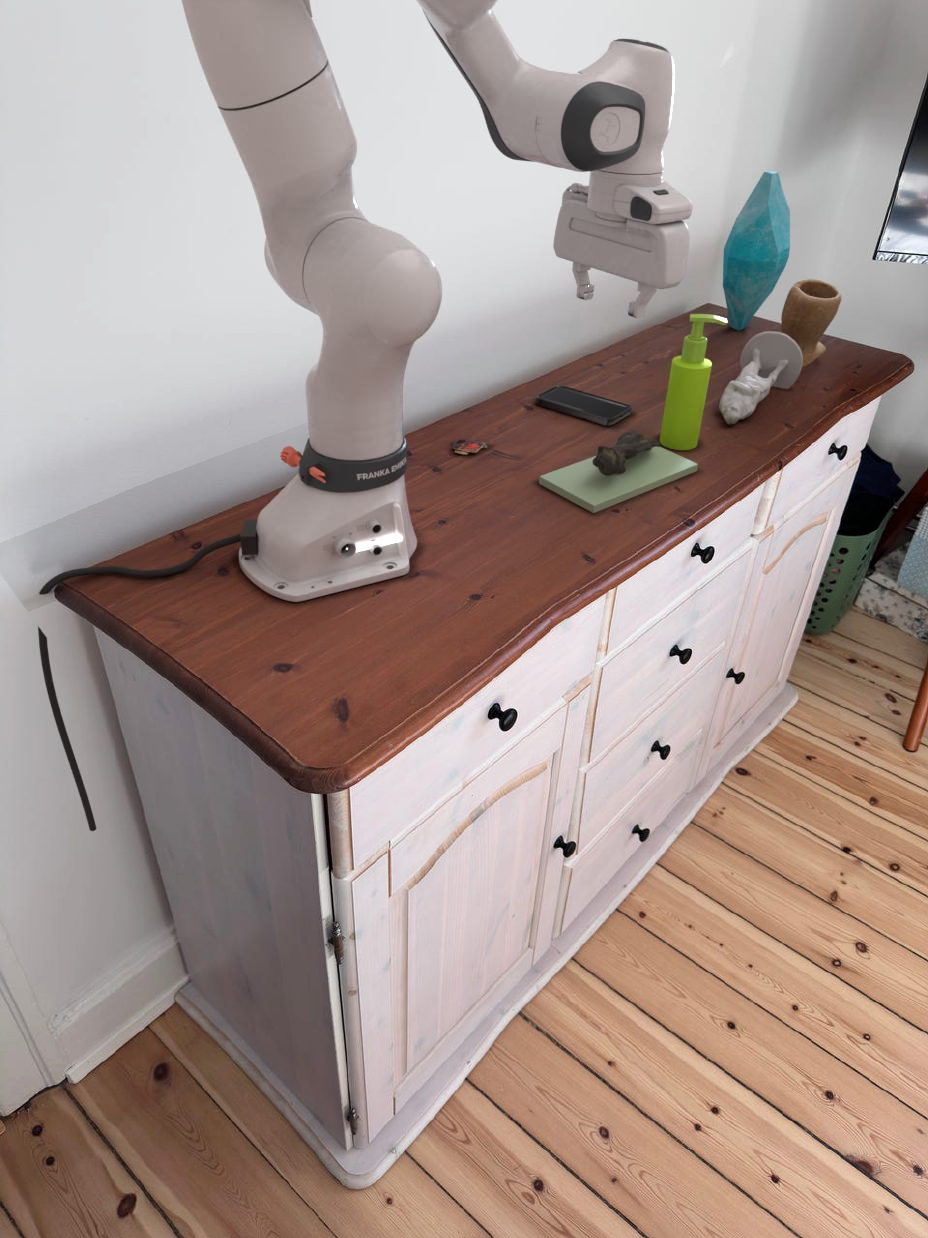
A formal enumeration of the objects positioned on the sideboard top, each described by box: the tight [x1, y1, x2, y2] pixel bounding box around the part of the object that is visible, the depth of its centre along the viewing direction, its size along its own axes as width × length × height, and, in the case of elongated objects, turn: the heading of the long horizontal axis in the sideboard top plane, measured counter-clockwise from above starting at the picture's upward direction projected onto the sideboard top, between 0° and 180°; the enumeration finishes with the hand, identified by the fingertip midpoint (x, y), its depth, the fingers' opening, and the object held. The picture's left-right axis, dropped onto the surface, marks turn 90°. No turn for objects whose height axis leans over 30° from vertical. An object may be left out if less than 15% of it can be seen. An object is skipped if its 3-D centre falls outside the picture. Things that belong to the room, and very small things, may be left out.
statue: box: [593, 429, 661, 476], centre depth 133 cm, size 6×6×20 cm
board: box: [538, 446, 699, 514], centre depth 135 cm, size 22×11×1 cm, turn 129°
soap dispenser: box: [659, 313, 728, 451], centre depth 140 cm, size 6×7×20 cm
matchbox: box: [452, 439, 488, 455], centre depth 142 cm, size 5×5×1 cm
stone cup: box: [780, 278, 842, 368], centre depth 174 cm, size 15×12×15 cm
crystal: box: [722, 170, 791, 331], centre depth 186 cm, size 12×14×30 cm
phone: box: [535, 385, 633, 427], centre depth 156 cm, size 8×1×15 cm
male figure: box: [718, 330, 803, 425], centre depth 158 cm, size 11×10×25 cm
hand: (609, 307), depth 122 cm, fingers open, 8 cm apart
